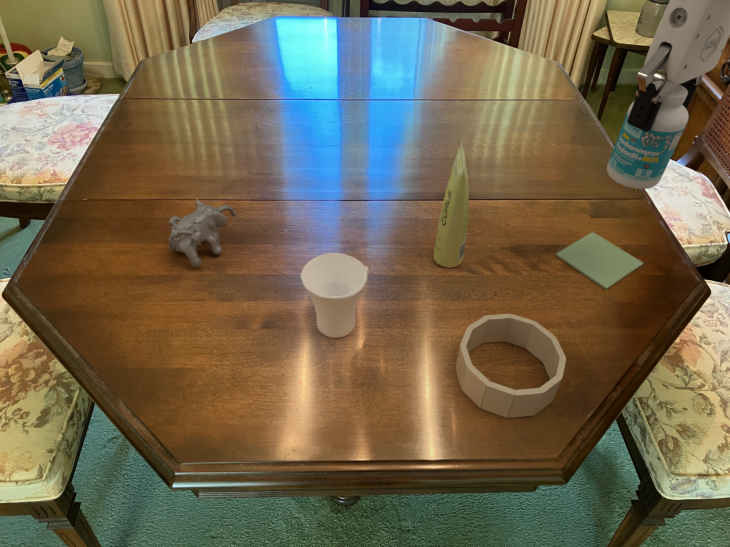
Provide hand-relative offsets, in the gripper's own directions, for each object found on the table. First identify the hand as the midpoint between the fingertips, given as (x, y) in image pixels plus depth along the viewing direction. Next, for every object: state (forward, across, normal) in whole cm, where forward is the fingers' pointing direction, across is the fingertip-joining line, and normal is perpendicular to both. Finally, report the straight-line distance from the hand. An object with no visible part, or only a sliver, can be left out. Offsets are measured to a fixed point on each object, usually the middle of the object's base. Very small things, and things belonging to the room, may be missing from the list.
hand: (656, 117), depth 74 cm
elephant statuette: (+26, -51, +41) cm, 70 cm away
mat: (+26, 0, 0) cm, 26 cm away
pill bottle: (+10, 0, 0) cm, 10 cm away
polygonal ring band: (+26, -30, -7) cm, 40 cm away
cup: (+26, -43, +14) cm, 52 cm away
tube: (+26, -20, +15) cm, 36 cm away
